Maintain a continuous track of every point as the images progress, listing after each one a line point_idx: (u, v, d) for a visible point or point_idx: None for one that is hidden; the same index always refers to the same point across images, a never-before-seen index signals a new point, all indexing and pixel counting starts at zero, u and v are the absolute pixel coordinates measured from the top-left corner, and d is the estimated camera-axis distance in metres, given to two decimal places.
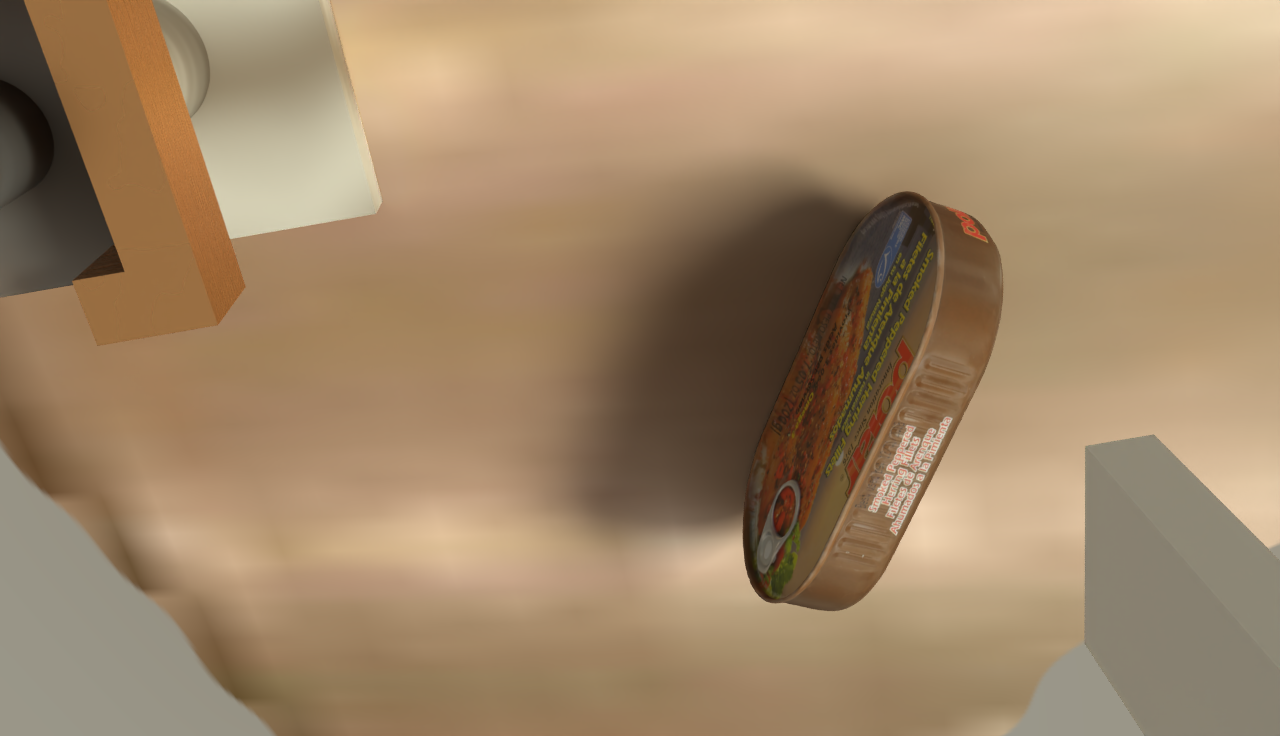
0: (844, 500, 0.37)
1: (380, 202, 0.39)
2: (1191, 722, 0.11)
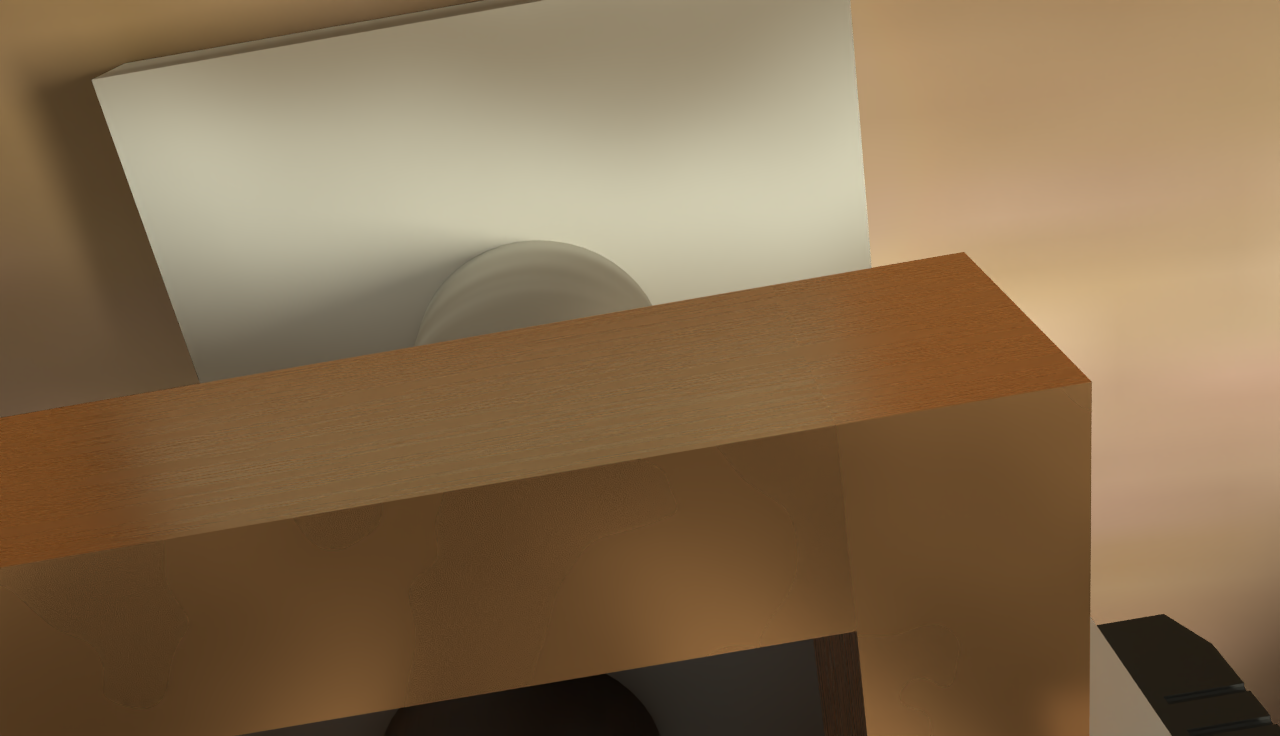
0: None
1: None
2: None
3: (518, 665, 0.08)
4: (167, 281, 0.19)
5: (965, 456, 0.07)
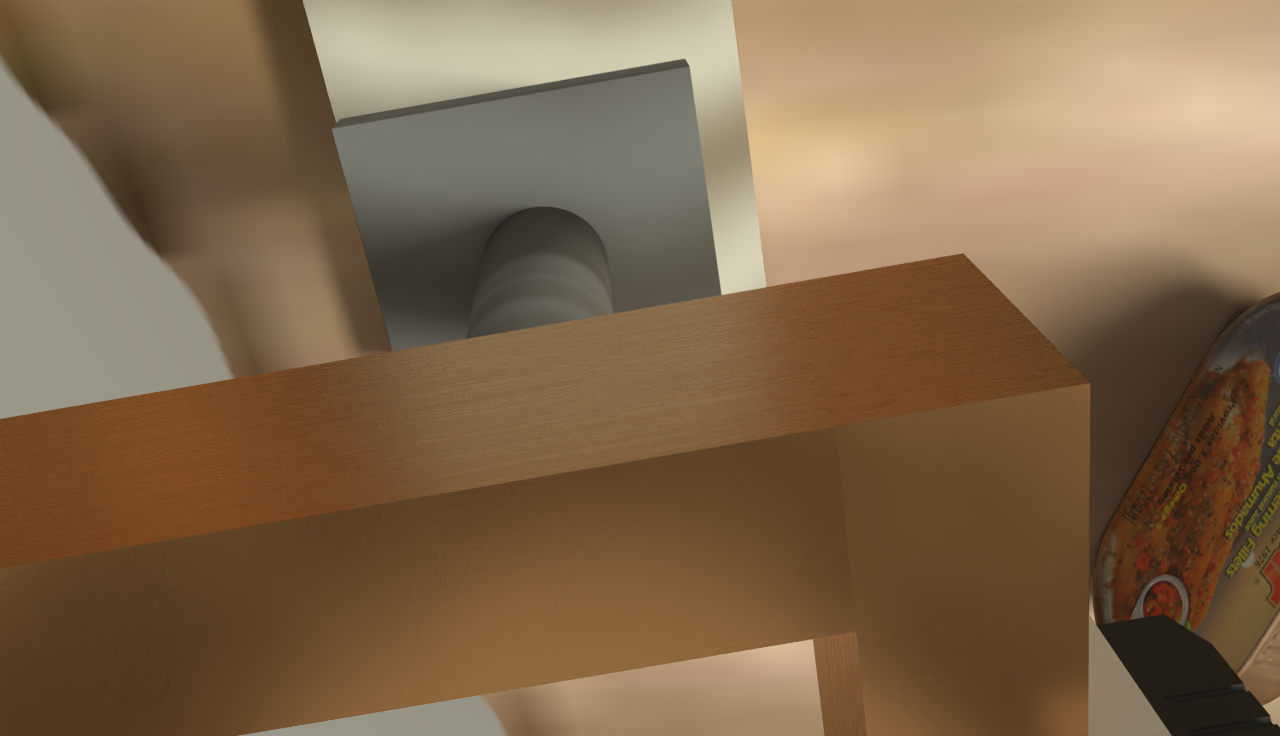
0: (1266, 606, 0.36)
1: None
2: None
3: (518, 664, 0.08)
4: (334, 108, 0.34)
5: (961, 457, 0.07)
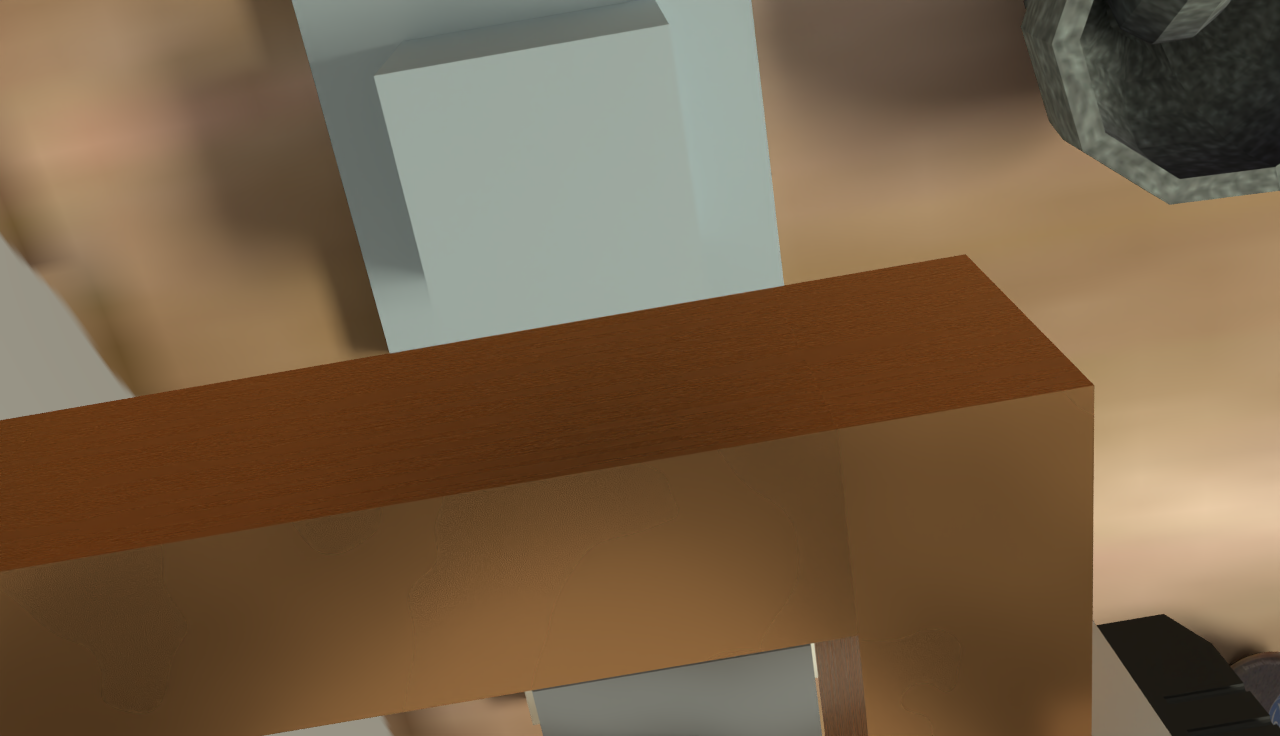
0: None
1: None
2: None
3: (517, 670, 0.08)
4: None
5: (966, 461, 0.07)
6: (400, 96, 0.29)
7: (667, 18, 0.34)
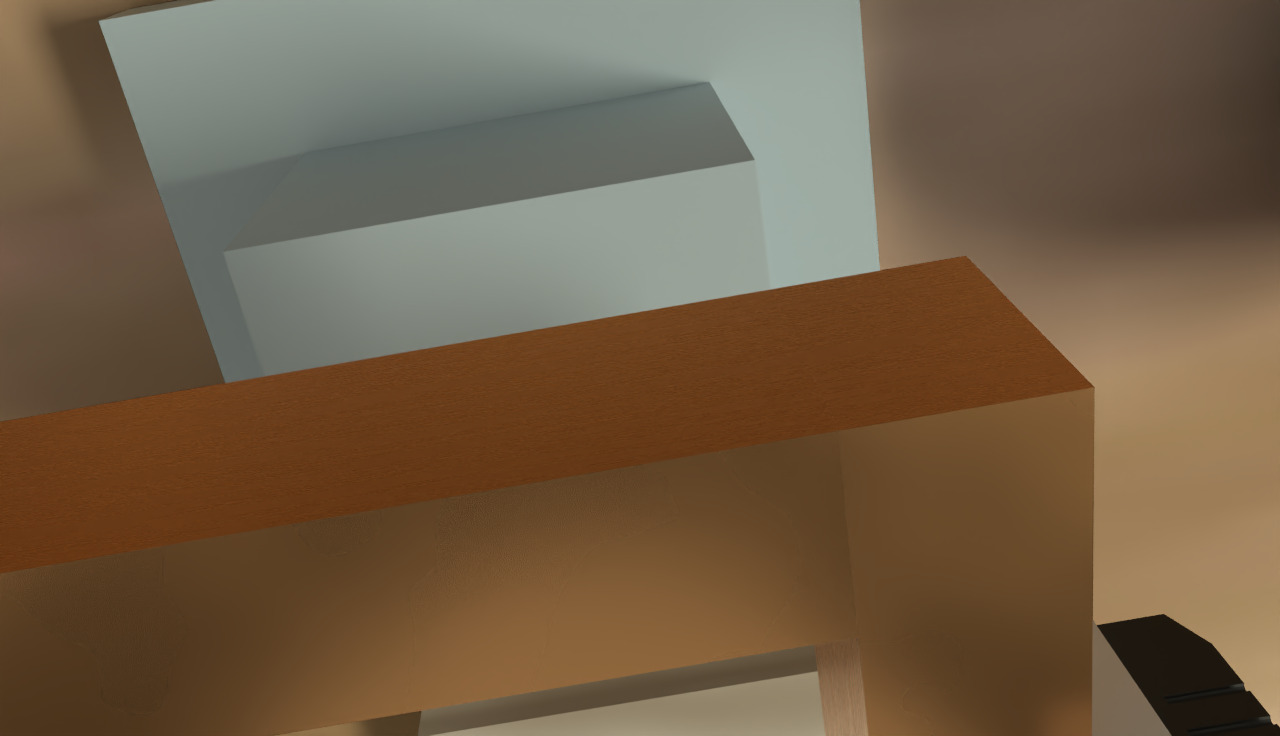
0: None
1: None
2: None
3: (518, 672, 0.08)
4: None
5: (966, 463, 0.07)
6: (273, 286, 0.16)
7: (731, 114, 0.21)
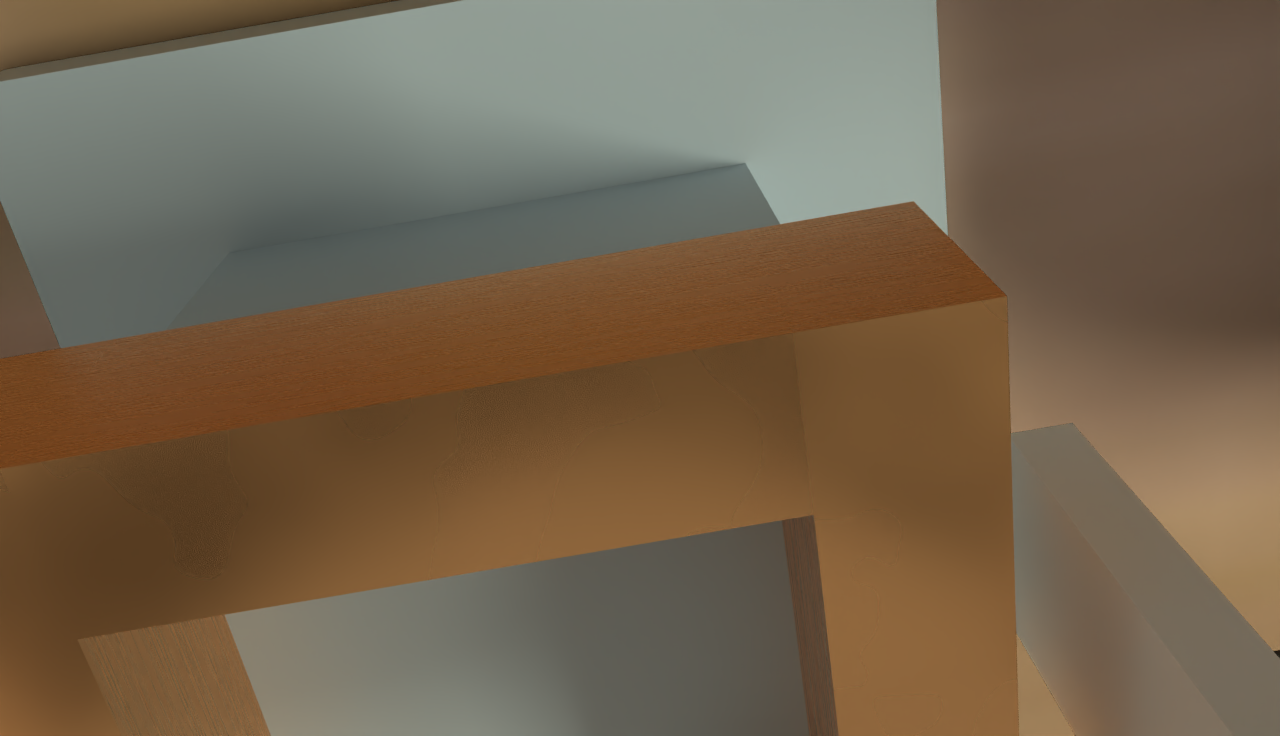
0: None
1: None
2: (1097, 697, 0.11)
3: (525, 544, 0.09)
4: None
5: (901, 361, 0.09)
6: None
7: (772, 203, 0.16)
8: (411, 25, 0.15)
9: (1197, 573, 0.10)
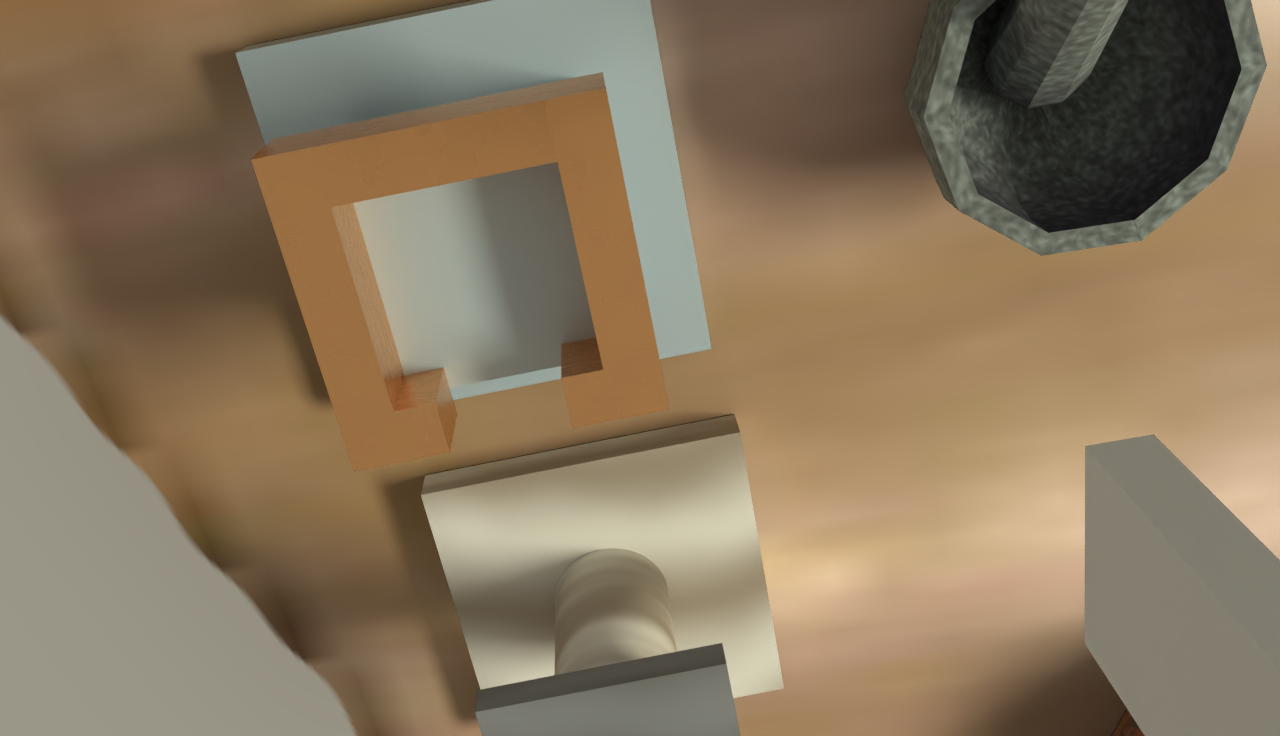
0: None
1: None
2: (1191, 722, 0.11)
3: (468, 172, 0.30)
4: (445, 571, 0.44)
5: (577, 109, 0.29)
6: None
7: None
8: (427, 20, 0.36)
9: None
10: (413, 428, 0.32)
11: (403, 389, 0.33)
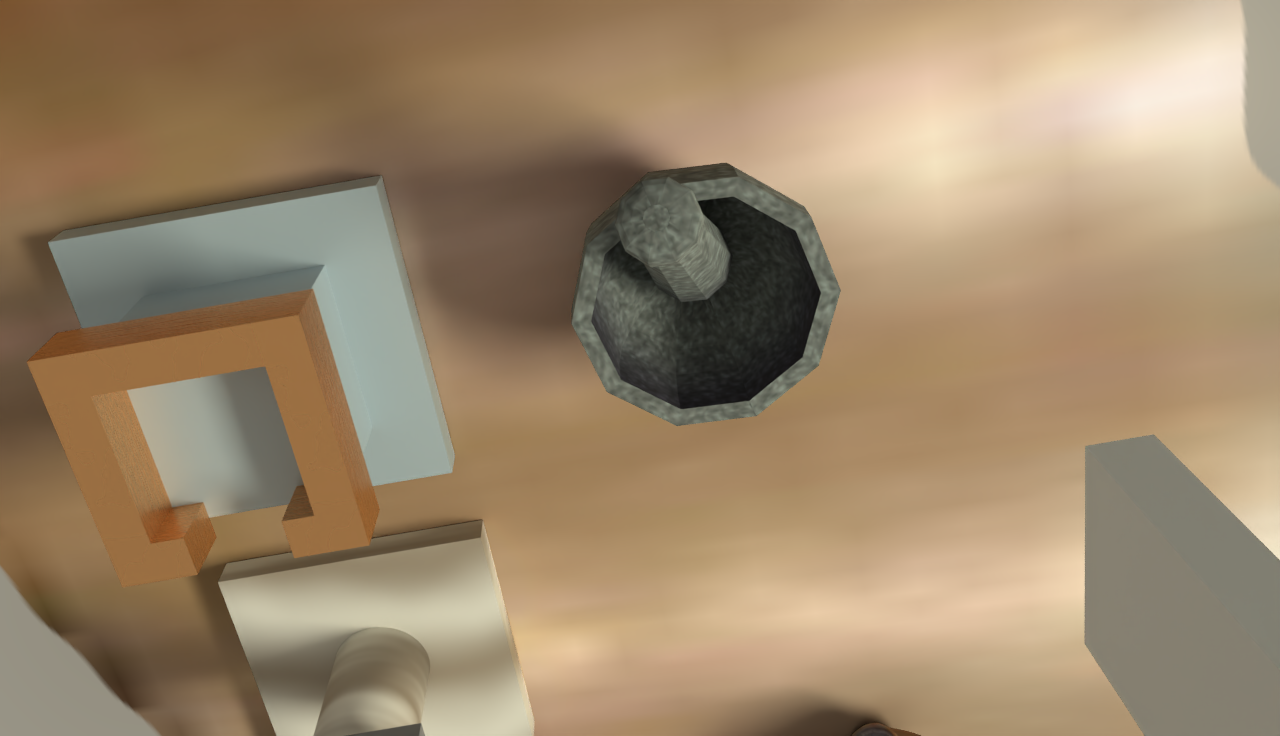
0: None
1: (533, 723, 0.57)
2: (1191, 723, 0.11)
3: (196, 373, 0.39)
4: (242, 642, 0.53)
5: (277, 329, 0.38)
6: None
7: (336, 278, 0.46)
8: (202, 220, 0.45)
9: None
10: (167, 556, 0.42)
11: (165, 522, 0.43)
